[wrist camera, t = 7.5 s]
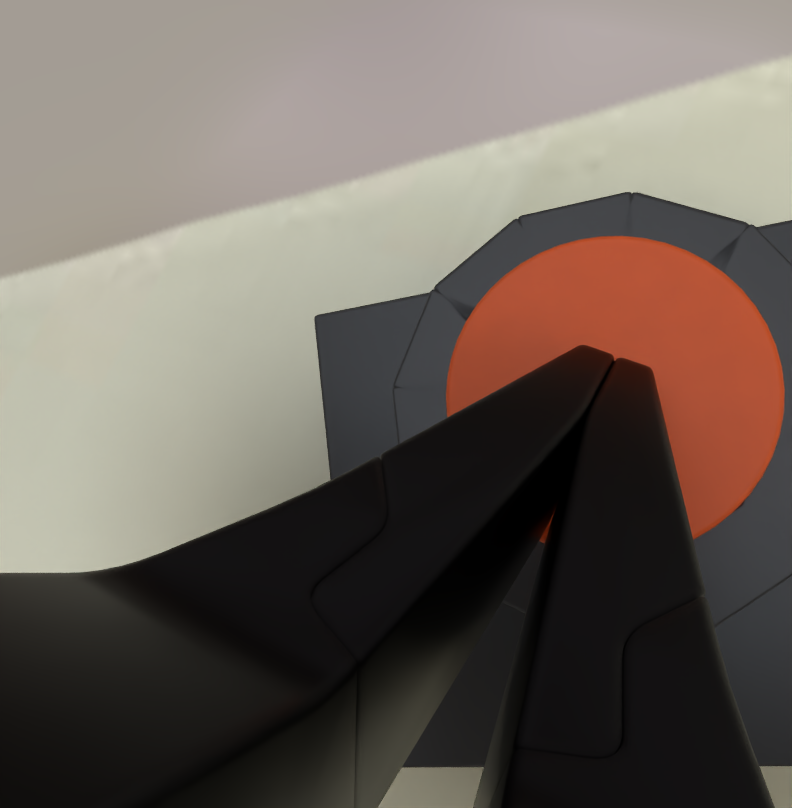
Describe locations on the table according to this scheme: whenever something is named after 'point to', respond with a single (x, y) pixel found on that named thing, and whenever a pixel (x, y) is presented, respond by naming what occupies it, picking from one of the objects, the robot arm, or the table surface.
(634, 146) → the table surface
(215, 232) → the table surface
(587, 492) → the robot arm
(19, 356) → the table surface
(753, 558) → the block
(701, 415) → the power button
